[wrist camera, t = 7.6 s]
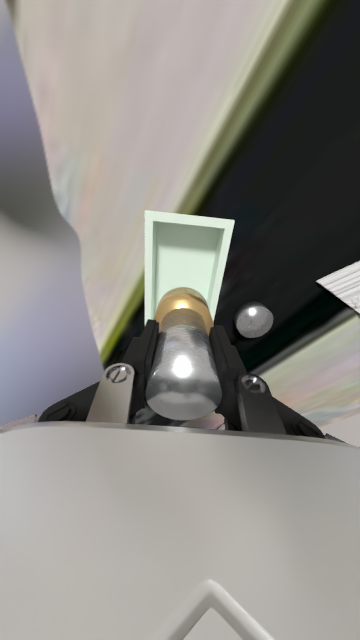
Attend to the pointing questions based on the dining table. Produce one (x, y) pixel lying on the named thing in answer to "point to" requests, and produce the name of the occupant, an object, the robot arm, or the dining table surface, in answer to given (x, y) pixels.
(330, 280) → the crown molding
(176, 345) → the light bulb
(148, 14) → the dining table surface
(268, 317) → the silver metal dome
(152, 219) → the bin
